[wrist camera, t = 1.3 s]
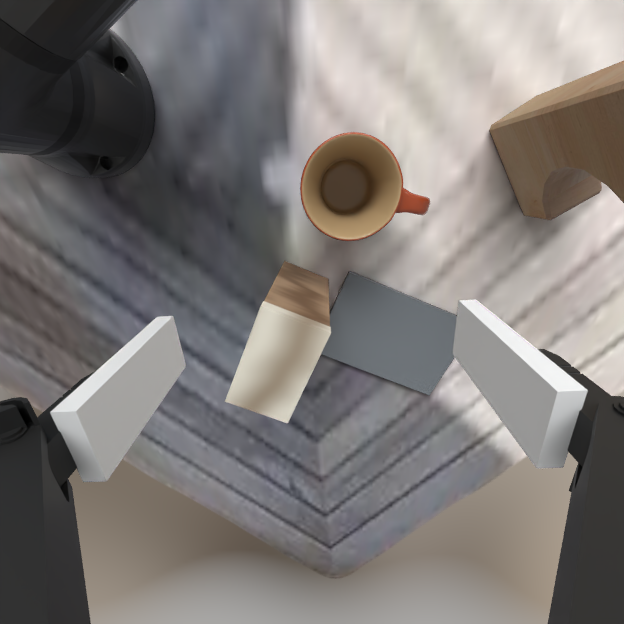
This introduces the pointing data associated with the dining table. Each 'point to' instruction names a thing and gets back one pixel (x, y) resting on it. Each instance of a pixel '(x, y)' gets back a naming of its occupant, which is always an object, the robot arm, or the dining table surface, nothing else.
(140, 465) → the dining table surface
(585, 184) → the decorative block
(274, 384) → the brown and cream block
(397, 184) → the mug
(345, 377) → the dining table surface
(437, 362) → the mat
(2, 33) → the robot arm
